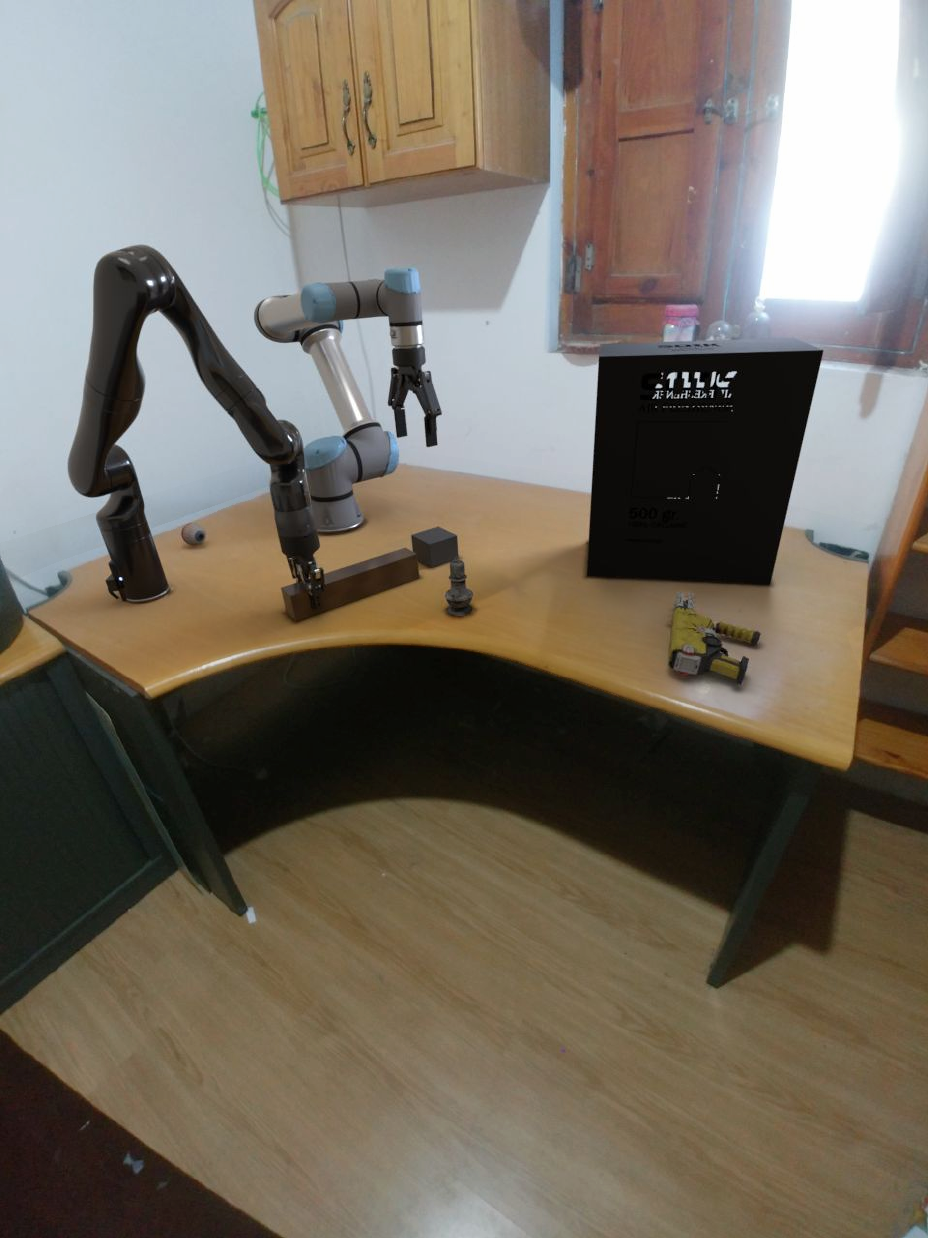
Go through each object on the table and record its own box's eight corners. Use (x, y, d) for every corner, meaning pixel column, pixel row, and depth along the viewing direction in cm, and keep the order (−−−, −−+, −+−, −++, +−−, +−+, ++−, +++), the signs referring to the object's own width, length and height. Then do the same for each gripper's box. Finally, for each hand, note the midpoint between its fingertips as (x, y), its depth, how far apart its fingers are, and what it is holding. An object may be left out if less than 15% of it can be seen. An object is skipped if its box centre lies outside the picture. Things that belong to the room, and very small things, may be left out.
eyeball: (194, 551, 158) (188, 529, 155) (180, 546, 161) (173, 525, 158) (213, 542, 162) (208, 521, 159) (199, 539, 165) (192, 518, 162)
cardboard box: (751, 546, 143) (793, 337, 120) (770, 584, 126) (823, 350, 103) (589, 540, 150) (600, 343, 128) (586, 576, 133) (598, 356, 111)
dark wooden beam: (295, 622, 123) (290, 596, 120) (286, 613, 126) (280, 587, 123) (419, 577, 137) (417, 553, 134) (408, 571, 141) (405, 547, 138)
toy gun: (759, 604, 113) (676, 588, 117) (772, 670, 93) (671, 649, 97) (752, 625, 115) (671, 610, 119) (763, 695, 95) (665, 673, 99)
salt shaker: (471, 617, 120) (468, 562, 114) (442, 615, 121) (438, 561, 115) (476, 603, 125) (474, 550, 119) (449, 601, 126) (445, 549, 120)
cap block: (431, 567, 142) (429, 544, 139) (413, 557, 147) (410, 534, 144) (458, 558, 146) (457, 535, 143) (440, 548, 151) (438, 526, 148)
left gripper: (265, 523, 121) (282, 597, 129) (293, 543, 111) (309, 623, 119) (300, 514, 125) (314, 587, 133) (330, 532, 114) (344, 610, 123)
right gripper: (367, 345, 144) (378, 435, 154) (424, 351, 126) (432, 453, 136) (394, 341, 147) (403, 430, 158) (453, 347, 129) (458, 447, 140)
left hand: (312, 603), depth 126 cm, fingers closed on dark wooden beam, 5 cm apart
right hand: (416, 441), depth 147 cm, fingers open, 13 cm apart
